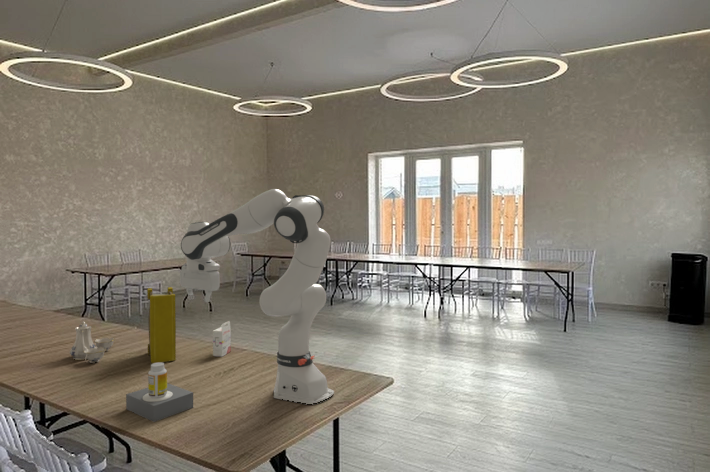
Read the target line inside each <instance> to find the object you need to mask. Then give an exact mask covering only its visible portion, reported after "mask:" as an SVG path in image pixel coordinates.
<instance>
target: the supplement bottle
mask: <svg viewBox="0 0 710 472" xmlns="http://www.w3.org/2000/svg"><path fill="white" fill-rule="evenodd" d="M147 375H148V377H147V378H148V380H147V381H148V387H147V388H149V397H151V398H160V397H163V396H165V395H166V394H167V383H168V371H167V368H165V362H158V363H150V369H149V371H148V373H147Z"/></svg>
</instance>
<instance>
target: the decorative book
mask: <svg viewBox="0 0 710 472" xmlns="http://www.w3.org/2000/svg"><path fill="white" fill-rule="evenodd" d="M146 292H147V293H146V294H147V300H149V307H148V308H149V310H148V320H147V321H148V341H149V343H148V344H147V355H148V356H150V364H153V363H158V362H161V363H167V362H173V361H176V360H177V359H176V357H177V355H176V354H177V353H176V352H177V348H176V345H177V344H176V341H177V339H176V333H177V332H176V331H177V330H176V329H177V327H176V321H177V320H176V294H175V293H174V288H173V287H172V286H170V287H167V291H166V292H167V293H165V292H164V293H153V288H151V287H150V288H149V287H148V288H147V289H146Z"/></svg>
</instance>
